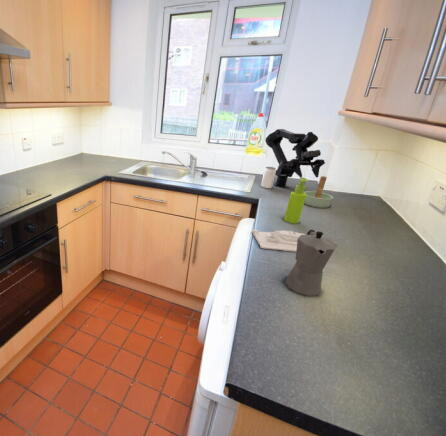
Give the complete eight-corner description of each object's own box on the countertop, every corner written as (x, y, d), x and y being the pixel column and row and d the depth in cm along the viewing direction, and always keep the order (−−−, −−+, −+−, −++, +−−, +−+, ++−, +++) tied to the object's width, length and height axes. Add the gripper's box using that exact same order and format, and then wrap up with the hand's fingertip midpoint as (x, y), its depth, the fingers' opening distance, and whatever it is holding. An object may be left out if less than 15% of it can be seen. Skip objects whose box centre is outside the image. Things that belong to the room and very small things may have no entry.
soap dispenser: (285, 223, 131) (297, 179, 124) (283, 217, 137) (294, 175, 130) (300, 225, 130) (313, 181, 122) (297, 219, 136) (309, 177, 128)
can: (269, 185, 186) (274, 166, 181) (273, 188, 180) (278, 169, 175) (259, 185, 186) (263, 166, 181) (262, 188, 180) (267, 168, 175)
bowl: (300, 198, 165) (302, 189, 163) (328, 202, 160) (330, 193, 158) (302, 205, 154) (304, 196, 152) (332, 210, 148) (335, 200, 147)
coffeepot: (325, 304, 80) (347, 245, 73) (287, 295, 83) (304, 238, 76) (314, 274, 94) (332, 223, 86) (281, 268, 97) (295, 217, 90)
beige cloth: (246, 234, 122) (248, 223, 120) (303, 234, 121) (306, 223, 119) (264, 254, 106) (266, 242, 104) (329, 254, 106) (332, 242, 104)
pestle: (310, 200, 159) (317, 175, 153) (320, 202, 157) (328, 176, 152) (311, 203, 155) (319, 177, 149) (321, 204, 153) (330, 178, 148)
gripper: (295, 143, 158) (302, 169, 153) (328, 144, 160) (336, 169, 154) (283, 155, 169) (289, 179, 163) (314, 156, 170) (321, 180, 164)
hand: (309, 177), depth 161 cm, fingers open, 9 cm apart
